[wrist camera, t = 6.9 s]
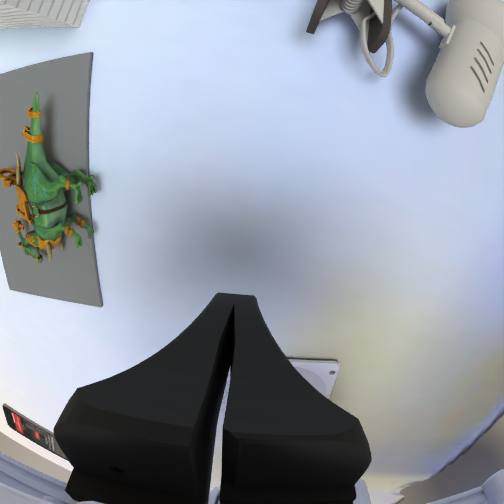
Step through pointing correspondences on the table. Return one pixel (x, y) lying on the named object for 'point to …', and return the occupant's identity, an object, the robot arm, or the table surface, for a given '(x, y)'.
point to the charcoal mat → (63, 154)
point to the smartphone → (32, 431)
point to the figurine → (44, 194)
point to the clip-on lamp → (452, 47)
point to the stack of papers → (41, 13)
